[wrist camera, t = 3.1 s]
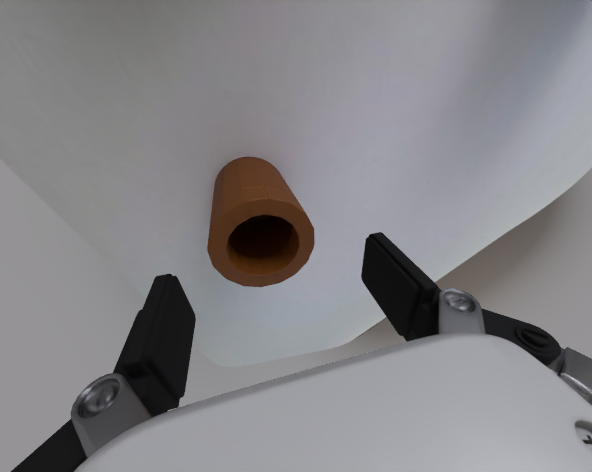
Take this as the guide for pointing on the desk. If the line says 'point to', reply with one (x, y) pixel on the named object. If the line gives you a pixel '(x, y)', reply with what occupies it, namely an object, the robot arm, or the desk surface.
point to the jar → (257, 225)
